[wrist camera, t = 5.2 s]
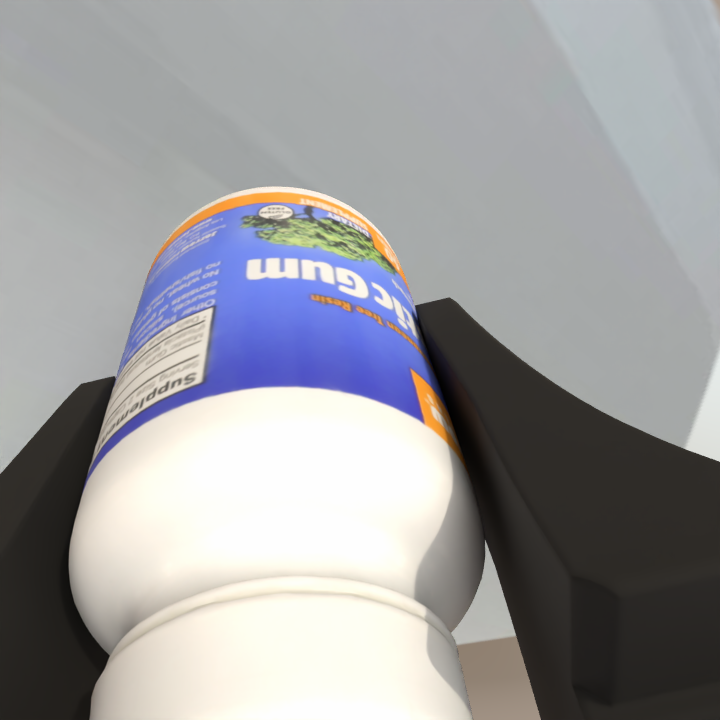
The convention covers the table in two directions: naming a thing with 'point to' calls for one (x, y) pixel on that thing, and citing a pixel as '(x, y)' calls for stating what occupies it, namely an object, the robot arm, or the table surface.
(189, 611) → the pill bottle
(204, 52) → the table surface
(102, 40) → the table surface
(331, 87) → the table surface
